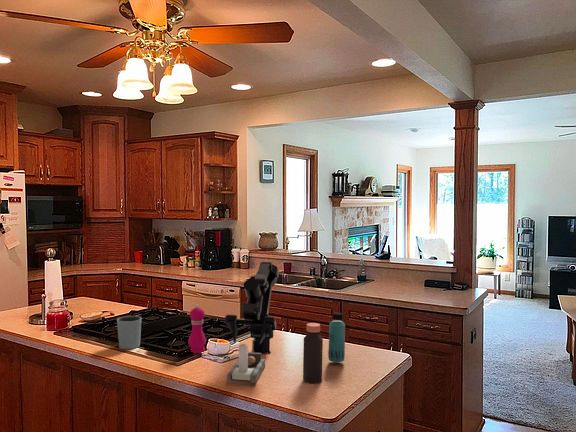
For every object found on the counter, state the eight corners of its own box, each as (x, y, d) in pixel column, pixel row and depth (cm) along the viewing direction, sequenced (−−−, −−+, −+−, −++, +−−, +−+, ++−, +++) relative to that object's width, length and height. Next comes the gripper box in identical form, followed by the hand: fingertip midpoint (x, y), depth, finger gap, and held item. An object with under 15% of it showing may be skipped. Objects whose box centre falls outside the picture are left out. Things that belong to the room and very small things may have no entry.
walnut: (254, 363, 183) (254, 354, 183) (256, 366, 180) (256, 357, 180) (244, 364, 182) (244, 354, 182) (246, 367, 179) (246, 358, 179)
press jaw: (236, 372, 172) (236, 342, 172) (253, 374, 172) (254, 343, 171) (232, 379, 167) (232, 347, 166) (250, 380, 166) (250, 348, 165)
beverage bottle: (335, 359, 194) (336, 310, 193) (348, 363, 189) (349, 313, 188) (324, 363, 189) (325, 312, 188) (337, 367, 184) (338, 315, 184)
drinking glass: (131, 351, 200) (131, 322, 200) (111, 348, 203) (111, 320, 203) (146, 344, 210) (146, 316, 209) (126, 341, 213) (126, 314, 212)
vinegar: (308, 385, 167) (309, 328, 166) (299, 378, 173) (300, 323, 172) (325, 382, 170) (326, 326, 169) (316, 375, 176) (317, 321, 175)
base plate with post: (239, 365, 185) (239, 351, 184) (265, 367, 183) (265, 353, 183) (226, 384, 166) (226, 368, 166) (255, 386, 165) (255, 370, 165)
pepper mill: (206, 349, 204) (207, 302, 203) (204, 355, 197) (204, 306, 196) (189, 349, 204) (190, 302, 203) (186, 355, 196) (187, 306, 196)
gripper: (226, 293, 180) (217, 330, 169) (275, 295, 177) (269, 333, 167) (231, 309, 188) (223, 345, 177) (278, 311, 185) (273, 348, 175)
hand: (246, 343), depth 174 cm, fingers open, 9 cm apart
